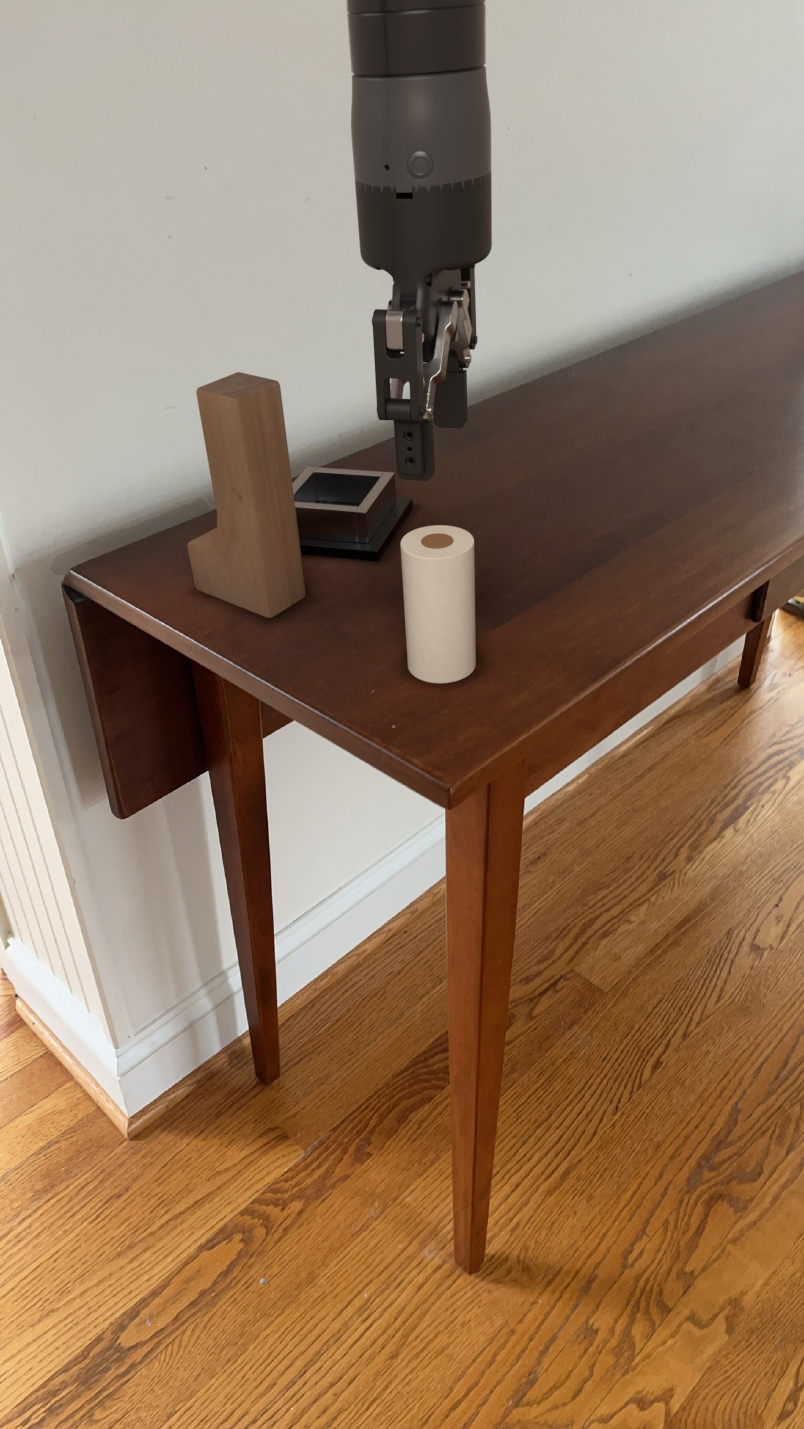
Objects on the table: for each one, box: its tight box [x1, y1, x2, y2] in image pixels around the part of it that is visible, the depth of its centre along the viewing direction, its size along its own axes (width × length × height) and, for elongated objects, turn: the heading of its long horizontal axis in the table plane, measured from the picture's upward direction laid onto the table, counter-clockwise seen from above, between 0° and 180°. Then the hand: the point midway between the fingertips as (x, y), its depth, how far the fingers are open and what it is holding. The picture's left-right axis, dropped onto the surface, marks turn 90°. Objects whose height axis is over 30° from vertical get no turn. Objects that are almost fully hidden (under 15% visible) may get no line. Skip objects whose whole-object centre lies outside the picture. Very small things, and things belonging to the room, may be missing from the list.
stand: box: [292, 466, 413, 562], centre depth 93 cm, size 11×11×4 cm
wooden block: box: [186, 371, 307, 619], centre depth 80 cm, size 9×4×18 cm, turn 52°
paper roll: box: [400, 524, 477, 684], centre depth 72 cm, size 5×5×10 cm
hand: (434, 451), depth 65 cm, fingers open, 8 cm apart
